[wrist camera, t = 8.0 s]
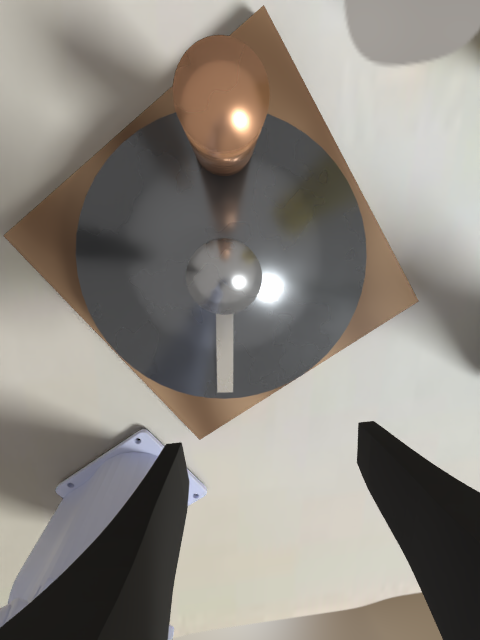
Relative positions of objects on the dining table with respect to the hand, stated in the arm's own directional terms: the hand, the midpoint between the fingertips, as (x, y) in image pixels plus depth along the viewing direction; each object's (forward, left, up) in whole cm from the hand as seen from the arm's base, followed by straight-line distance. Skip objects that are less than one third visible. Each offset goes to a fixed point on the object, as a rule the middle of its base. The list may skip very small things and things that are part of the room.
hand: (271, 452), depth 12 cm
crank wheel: (+2, +6, -8) cm, 10 cm away
